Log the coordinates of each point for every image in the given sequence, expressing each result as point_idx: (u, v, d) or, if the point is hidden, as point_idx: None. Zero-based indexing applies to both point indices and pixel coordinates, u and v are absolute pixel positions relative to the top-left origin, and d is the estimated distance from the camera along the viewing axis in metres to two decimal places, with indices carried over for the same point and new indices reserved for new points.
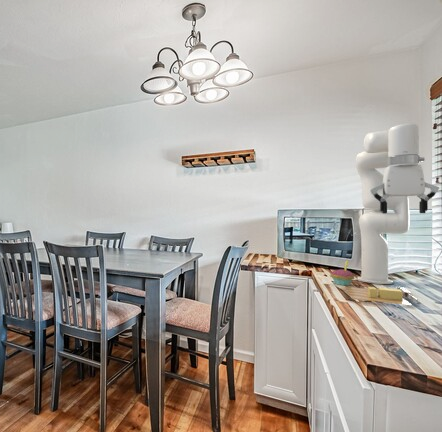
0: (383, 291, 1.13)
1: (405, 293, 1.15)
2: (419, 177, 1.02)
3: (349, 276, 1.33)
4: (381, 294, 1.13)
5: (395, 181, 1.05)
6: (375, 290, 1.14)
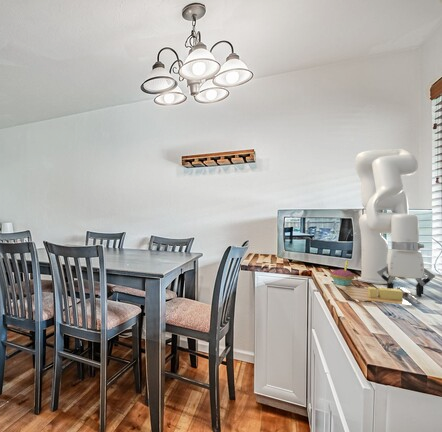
0: (383, 291, 1.13)
1: (405, 293, 1.15)
2: (419, 263, 1.14)
3: (349, 276, 1.33)
4: (381, 294, 1.13)
5: (397, 264, 1.17)
6: (375, 290, 1.14)
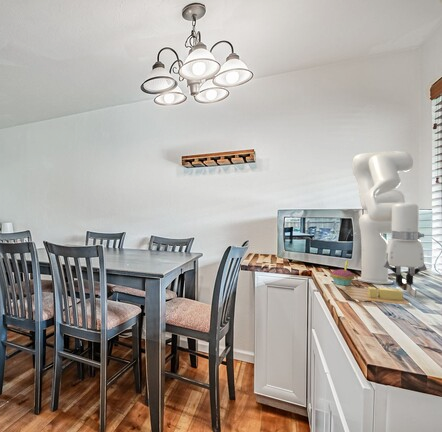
0: (383, 291, 1.13)
1: (404, 284, 1.16)
2: (419, 252, 1.14)
3: (349, 276, 1.33)
4: (381, 294, 1.13)
5: (397, 254, 1.17)
6: (375, 290, 1.14)
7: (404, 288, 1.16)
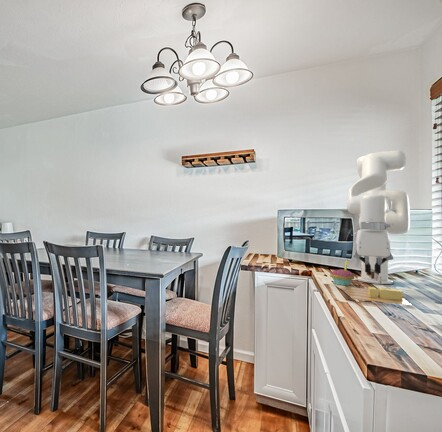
0: (383, 291, 1.13)
1: (372, 273, 1.20)
2: (386, 242, 1.19)
3: (349, 276, 1.33)
4: (381, 294, 1.13)
5: (365, 243, 1.22)
6: (375, 290, 1.14)
7: (372, 277, 1.20)
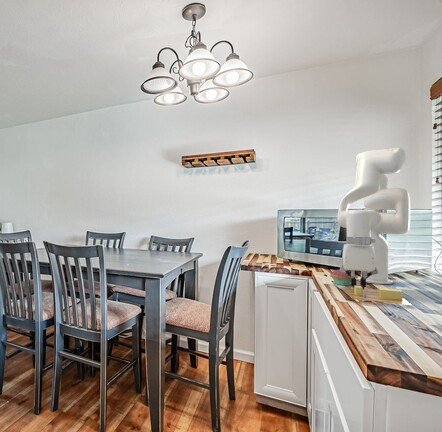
0: (383, 291, 1.13)
1: None
2: (371, 257, 1.21)
3: (349, 276, 1.33)
4: (381, 294, 1.13)
5: (351, 258, 1.24)
6: (361, 289, 1.16)
7: None
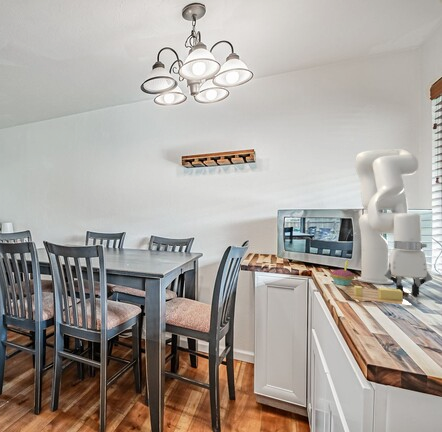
0: (383, 291, 1.13)
1: (405, 293, 1.15)
2: (422, 262, 1.14)
3: (349, 276, 1.33)
4: (381, 294, 1.13)
5: (400, 264, 1.17)
6: (361, 289, 1.16)
7: None
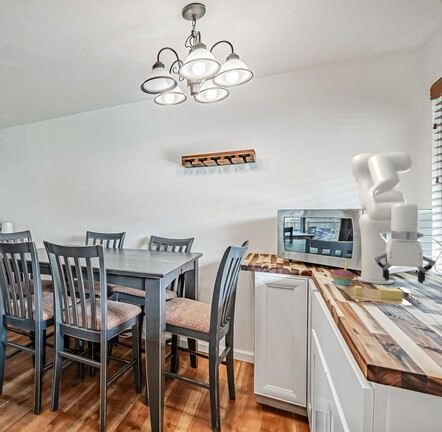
0: (383, 291, 1.13)
1: (405, 293, 1.15)
2: (418, 252, 1.15)
3: (349, 276, 1.33)
4: (381, 294, 1.13)
5: (397, 253, 1.18)
6: (361, 289, 1.16)
7: None
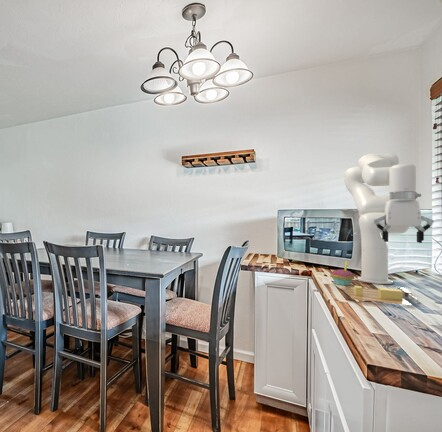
0: (383, 291, 1.13)
1: (405, 293, 1.15)
2: (416, 211, 1.17)
3: (349, 276, 1.33)
4: (381, 294, 1.13)
5: (395, 214, 1.20)
6: (361, 289, 1.16)
7: None
